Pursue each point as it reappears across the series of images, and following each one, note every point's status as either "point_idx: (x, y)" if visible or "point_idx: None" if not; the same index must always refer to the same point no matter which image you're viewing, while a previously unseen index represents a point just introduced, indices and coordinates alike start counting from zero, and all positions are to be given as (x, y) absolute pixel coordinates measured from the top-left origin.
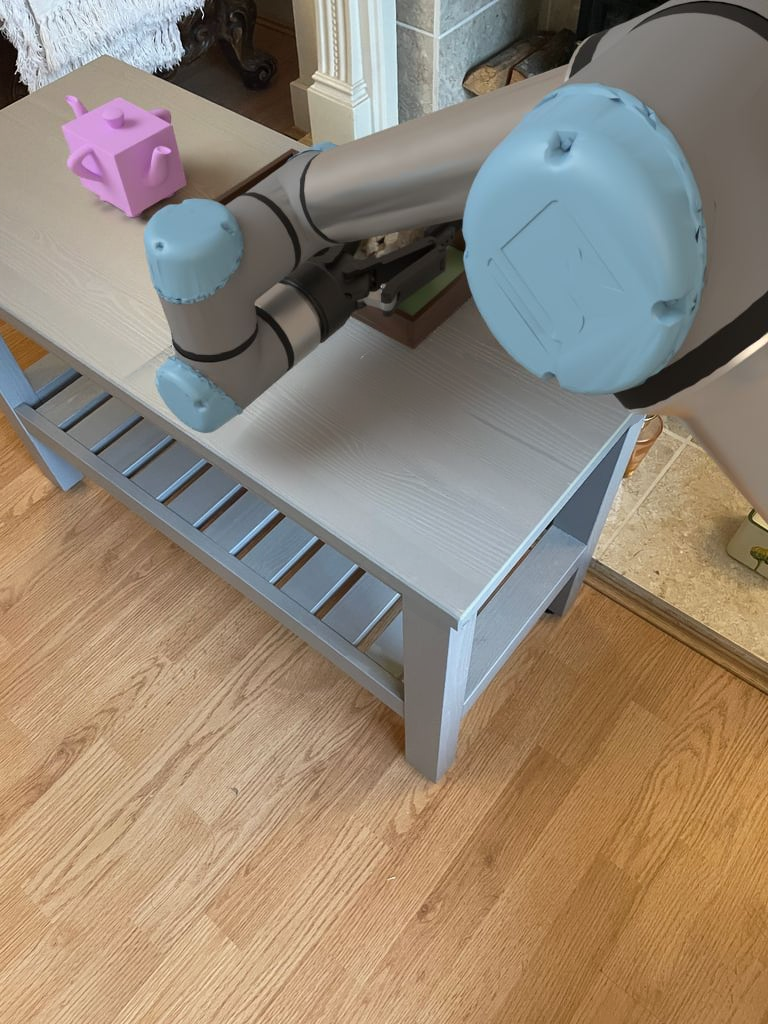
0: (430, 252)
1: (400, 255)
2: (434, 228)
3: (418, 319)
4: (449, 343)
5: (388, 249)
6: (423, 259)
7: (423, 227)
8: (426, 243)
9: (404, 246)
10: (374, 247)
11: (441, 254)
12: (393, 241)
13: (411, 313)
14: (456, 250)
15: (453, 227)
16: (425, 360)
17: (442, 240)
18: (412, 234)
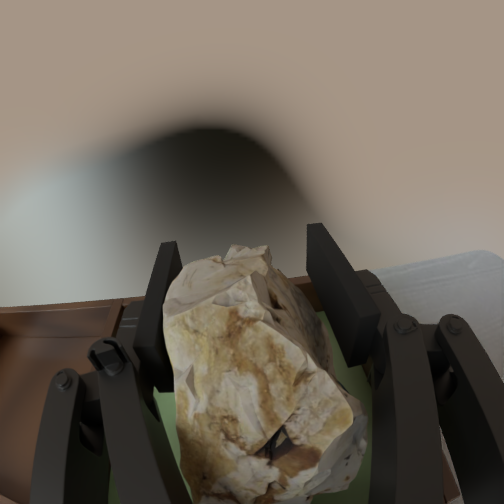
0: (459, 353)
1: (432, 441)
2: (366, 295)
3: (454, 482)
4: (444, 448)
5: (330, 453)
6: (481, 383)
7: (304, 315)
8: (414, 342)
9: (357, 401)
10: (260, 474)
11: (474, 334)
12: (346, 423)
13: (361, 474)
14: None
15: (366, 271)
16: (456, 500)
17: (398, 309)
18: (310, 350)
